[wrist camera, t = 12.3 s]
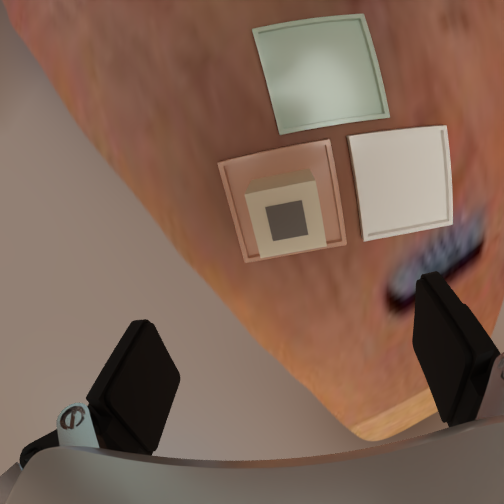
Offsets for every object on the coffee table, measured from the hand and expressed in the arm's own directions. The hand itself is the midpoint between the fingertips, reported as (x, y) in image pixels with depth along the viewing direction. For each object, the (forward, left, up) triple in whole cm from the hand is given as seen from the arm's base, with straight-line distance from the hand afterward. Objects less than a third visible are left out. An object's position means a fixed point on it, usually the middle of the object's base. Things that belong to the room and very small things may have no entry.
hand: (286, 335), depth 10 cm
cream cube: (0, 0, -18) cm, 18 cm away
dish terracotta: (+1, 0, -18) cm, 18 cm away
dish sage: (-10, +5, -18) cm, 22 cm away
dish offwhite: (+1, +11, -18) cm, 21 cm away
